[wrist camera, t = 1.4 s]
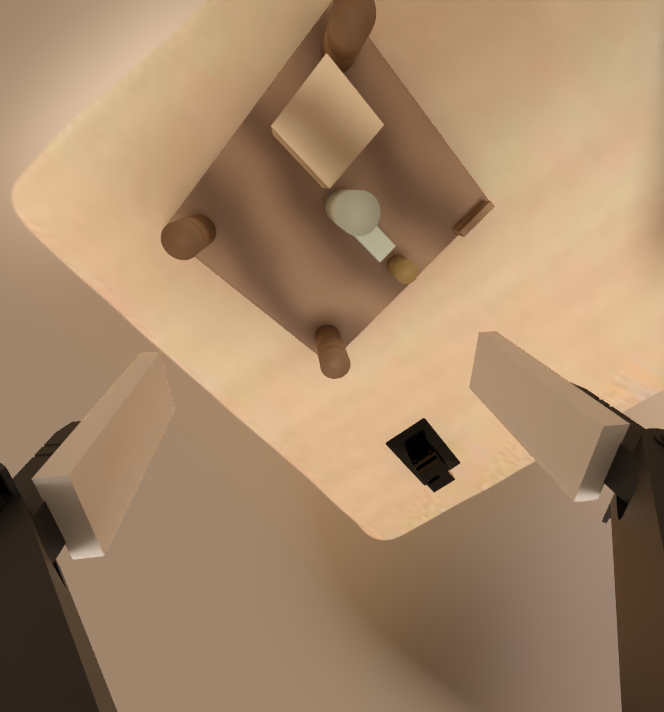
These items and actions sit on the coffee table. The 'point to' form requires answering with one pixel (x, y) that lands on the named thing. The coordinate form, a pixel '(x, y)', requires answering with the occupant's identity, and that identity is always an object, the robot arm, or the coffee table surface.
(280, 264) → the stool board
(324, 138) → the maple block
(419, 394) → the coffee table surface
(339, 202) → the gate leg
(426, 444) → the black bracket plate
